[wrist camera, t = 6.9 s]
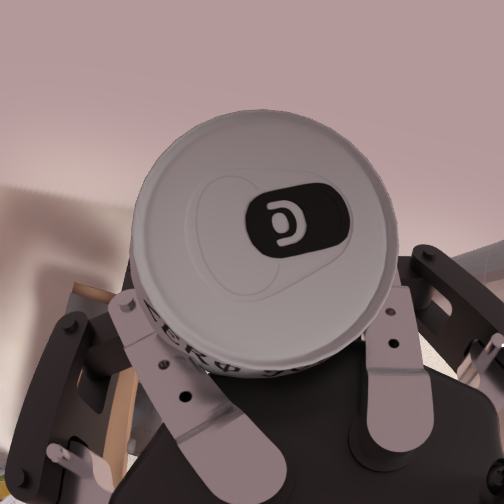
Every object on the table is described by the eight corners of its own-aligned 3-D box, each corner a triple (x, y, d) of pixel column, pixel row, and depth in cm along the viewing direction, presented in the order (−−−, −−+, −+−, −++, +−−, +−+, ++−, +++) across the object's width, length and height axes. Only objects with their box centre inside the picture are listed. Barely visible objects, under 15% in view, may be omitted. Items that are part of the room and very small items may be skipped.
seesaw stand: (168, 388, 30) (156, 403, 23) (158, 458, 27) (147, 483, 21) (76, 359, 29) (50, 365, 23) (71, 428, 27) (48, 444, 21)
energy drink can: (185, 257, 20) (93, 123, 5) (270, 237, 20) (358, 82, 6) (206, 345, 19) (144, 435, 4) (293, 322, 19) (451, 336, 5)
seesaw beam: (160, 308, 27) (150, 300, 23) (128, 539, 17) (119, 558, 13) (80, 286, 26) (61, 275, 22) (58, 510, 17) (42, 524, 12)
